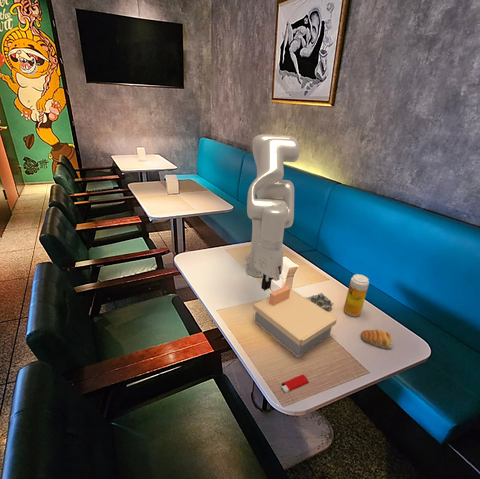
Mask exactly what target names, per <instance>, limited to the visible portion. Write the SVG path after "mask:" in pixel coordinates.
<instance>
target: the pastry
mask: <svg viewBox="0 0 480 479" xmlns="http://www.w3.org/2000/svg"><path fill="white" fill-rule="evenodd" d="M360 338H361V340H363V341H364V342H365V343H368V344H370V345H371V346H374V347H378V348H381V349H385V350H386V349H387V350H389V349H391V348H392V346H393V345H392V344H393V343H392V334H391V333H390V332H389V331H383V330H380V329H376V328H375V329H368V330H363V331H362V332H361V333H360Z"/></svg>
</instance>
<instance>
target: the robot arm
mask: <svg viewBox="0 0 480 479" xmlns="http://www.w3.org/2000/svg"><path fill="white" fill-rule="evenodd" d="M300 150H301V149H300V145H299V141H298V140H297V139H296V138H295V137H294V136H292V135H281V134H270V133H269V134H267V133H266V134H263V133H262V134H258V135H256V136H254V138H253V141H252V154H253V159H254V163H255V166H256V178H255V179H254V180H253V181H252V182H251V184H250V186H249V188H248V190H247V191H248V192H247V198H246V200H247V201H246V212H247V217H248V218H249V219H250V220H251V222H252V230H251V231H252V233H251V246H250V254H248V255H247V257H245V261H247V262H248V263H247V265H245V266H246V267H245V271H246V273H247V274H248V275H249V276H251V277H255V278H258V279H259V278H260V279H261V284H260V286H261V288H260V289H262V290H263V291H264V292H265V291H267V290H269V289H271V287H272V281H279V280H280V276H281V275H282V272H283V267H284V249H283V242H284V233H285V229H287V228H290V227H292V225H293V223H294V219H295V186H294V183H293V182H292V181H291V180H288V179H284V175H285V173H284V172H285V170H284V163H296V162H297V161H298V159H299V156H300Z"/></svg>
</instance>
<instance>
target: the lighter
mask: <svg viewBox="0 0 480 479" xmlns="http://www.w3.org/2000/svg"><path fill="white" fill-rule="evenodd" d="M309 382H310V380H309V379H308V378H307V377H306V375H305V374H301V375H299V376H296V377H293V378H291V379H289V380H287V381H284V382H283V383H281V390H282V391H283V392H284V394H287V393H289V392H291V391H294V390H297V389H298V388H300V387H302V386H306V385H307V384H309Z"/></svg>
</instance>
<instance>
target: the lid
mask: <svg viewBox="0 0 480 479" xmlns="http://www.w3.org/2000/svg"><path fill="white" fill-rule="evenodd" d="M252 309H253V311H256V312H257V313H259V314H260V315H261V316H262V317H264V318H265V319H266V320H267V321H269V322H270V323H271V324H273V325H274V326H275V327H276V328H278V329H279V330H280V331H281V332H283V333H284V334H285V335H286V336H288V337H289V338H290V339H291V340H293V341H294V342H295V343H297V344H298V345H300V344H301V345H302V346H303V345H304V344H306V343H307V342H309V341H311V340H312V339H314V338H315V337H317V336H318V335H320V334H321V333H323V332H325V331H326V330H328V329H329V328H331V327H332V328H333V327H334V326H335V325H336V324H337V317H336V316H334V315H333V314H331V313H330V312H329V311H328V310H324V309H322V308H320V307H319V306H317V303H316V304H314V303H313V302H311V301H309V300H308V299H306V297H305V296H303V295H302V294H300V293H298V292H297V291H295V290H294V289H292V288H291V287H289V286H287V285H285V286H282V287H281V288H278V289H276V290H274V291H272V292H269V297H267V298H265V299H261V300H260V301H258V302H256V303H254V304H253V307H252ZM332 328H331V329H332Z"/></svg>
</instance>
